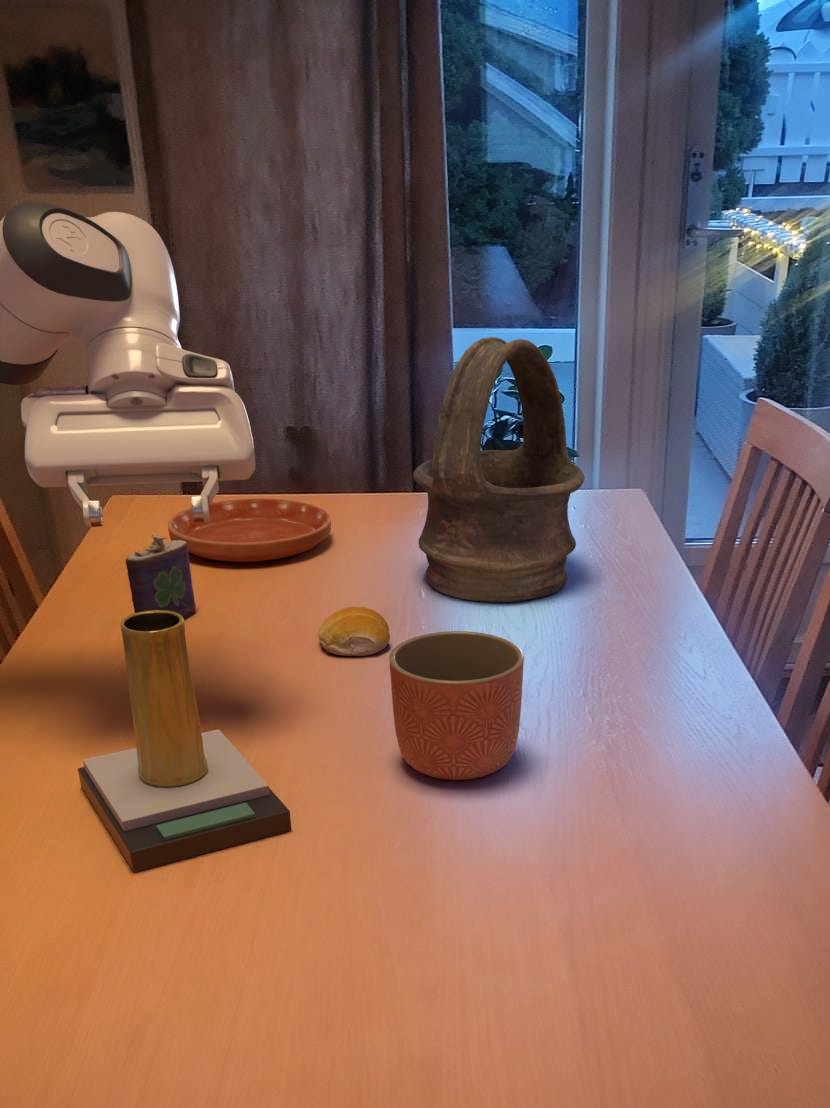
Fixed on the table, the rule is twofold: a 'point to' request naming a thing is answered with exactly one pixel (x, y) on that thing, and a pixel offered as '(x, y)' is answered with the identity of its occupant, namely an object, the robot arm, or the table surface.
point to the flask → (162, 578)
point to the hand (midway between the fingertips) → (147, 521)
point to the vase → (162, 699)
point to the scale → (182, 806)
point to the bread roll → (354, 632)
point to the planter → (456, 702)
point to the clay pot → (499, 484)
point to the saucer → (252, 529)
